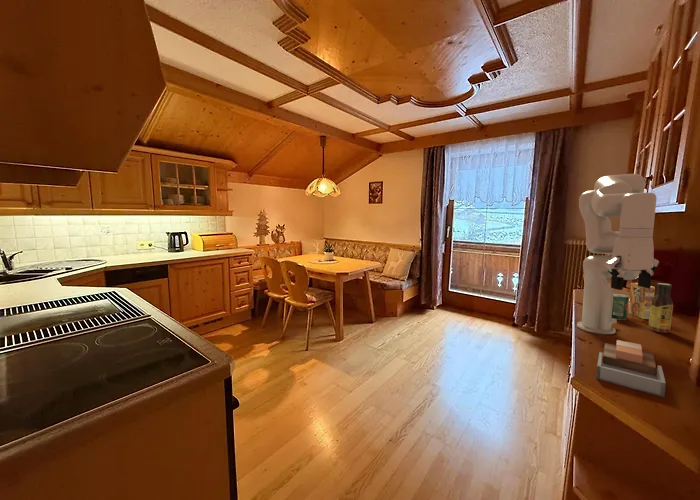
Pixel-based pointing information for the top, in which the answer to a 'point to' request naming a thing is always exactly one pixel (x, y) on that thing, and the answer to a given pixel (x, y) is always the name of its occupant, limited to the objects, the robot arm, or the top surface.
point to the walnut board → (645, 367)
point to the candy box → (641, 300)
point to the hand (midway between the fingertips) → (630, 288)
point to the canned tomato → (619, 306)
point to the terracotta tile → (629, 354)
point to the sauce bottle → (661, 309)
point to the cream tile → (629, 344)
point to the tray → (632, 378)
